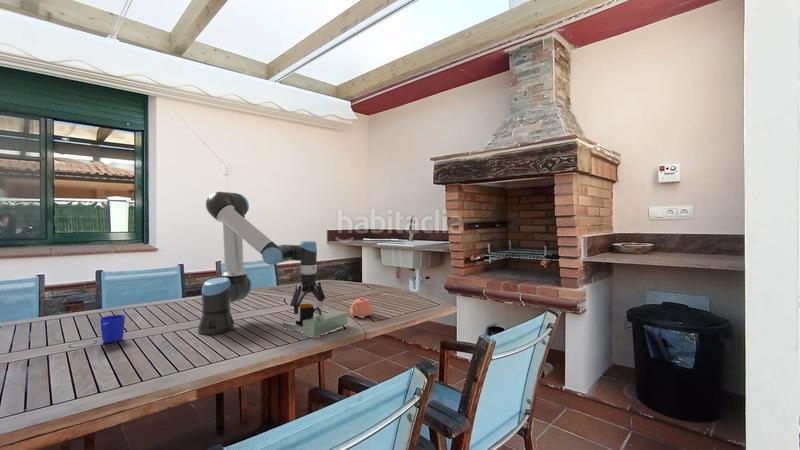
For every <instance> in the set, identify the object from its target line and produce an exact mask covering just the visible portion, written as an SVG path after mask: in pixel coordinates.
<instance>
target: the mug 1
mask: <svg viewBox="0 0 800 450" xmlns="http://www.w3.org/2000/svg"><path fill="white" fill-rule="evenodd" d="M125 320H126V315H125V314H114V315H113V314H112V315H107V316H104V317H101V318H100V319H99V321H100V331H101V338H102V339H101V340H102V342H103V343H106V344H108V343H109V344H110V343H116V342H119V341H121V340H122V339H123V338H124V332H125V331H124V330H125Z"/></svg>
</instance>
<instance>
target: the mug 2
mask: <svg viewBox="0 0 800 450" xmlns="http://www.w3.org/2000/svg"><path fill="white" fill-rule="evenodd" d="M299 307H300V321H296V320H295V324H298V325H302V326H303V320H306V319H310V318H313V315H314V313H315V312H316V309H318V310H319V314H318V316H319V315H322V309H321V310H320V309H319V308H316V307H314V304H311V303H300V305H299Z"/></svg>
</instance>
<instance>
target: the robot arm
mask: <svg viewBox="0 0 800 450" xmlns="http://www.w3.org/2000/svg"><path fill="white" fill-rule="evenodd" d="M205 207H206V210H207V212H208V213H209V214H210V216H211V217H212V218H213V219H214V220H215V221H217V222H219V223H221V224H222V233H223V256H224V257H223V258H224V272H223V273H222V274H221V277H216V278H210V279H208V280H206V281H204V282H203V283H202V289H201V300H202V301H201V302H202V303H201V308H202V310H201V311H202V312H201V313H202V314H201V317H200V319H199V323H198V326H197V333H198V334H200V335H206V336H207V335H219V334H225V333H229V332H230V331H232V330H234V329H235V321H234V319H233V316H232V313H231V304H232V303H234V302H237V301H240V300H243V299H245V298H247V297H248V296H249V295H250V294H251V292H252V289H253V282H252V280H251V279H250V278H249V276H248V272H246V271H245V269H244V268H245V267H244V250H243V249H244V246H243V243H244V242H243V241H245V242H246V243H247V244H248V245H249V246H251V247H252V248H253V249H254V250H255V251H257V252H258V253H259V254H260V255H261V258H262V259H263V262H264V263H265V264H267V265H278V264H281V263H286V262H289V261H291V262H292V261H294V262H296V261H297V262H300V282H301V284H300V285H299V284H296V285H295V291H294V293H293V295H292V296H293V297H292V298H291V302H290V307H293V314H294V321H295V322H296V321H300V307H299V305H300V304H302V302H303V299H304V298H305V296H306V295H308V294H310V293H312V295H313V296H314V297H315V299H316V301H315V308H319V309H320V310H321V311H322V307H323V302H324V301H325V299H326V296H325V293H324V290H323V288H322V285H321V281H318V280H317V279H318V277H317V270H318V269H317V265H318V264H317V261H318V260H317V258H318V257H317V255H318V253H317V252H318V249H317V242H316V241H314V240H305V241H304V240H303V241H301V242H300V244H298V245H295V244H279V245H277V244H276V243H275V242H274V241H273V240H271V239H270V238H269V237H267V235H266V234H264V233H263V232H262V231H260V229H258V228H257V227H256V226H254V225H253V223H251V222H250V221H249V220H247V219H246V218H245V217H246V215H247V213H248V212H249V209H250V203H249V201H248V199H247V197H245V196H244V195H242V194H240V193H238V192H237V193H236V192H225V191H215V192H213V193H211V194H210V195H209V196H208V197H207V198H206V201H205ZM315 314H316V315H319V310H318V309H316V310H315Z"/></svg>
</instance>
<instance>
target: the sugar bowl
mask: <svg viewBox="0 0 800 450" xmlns="http://www.w3.org/2000/svg"><path fill="white" fill-rule="evenodd" d="M349 313H350V315H351V316H352V315H353V316H368V315H371V316H372V314H373V313H374V309H373V305H372V303H371V302H370V301H369V299H366V298H365V297H363V296H360V297H359V298H356V299H355V300H354V301H353V302H352V304H351V307H350V308H349ZM353 316H352V317H353Z"/></svg>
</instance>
